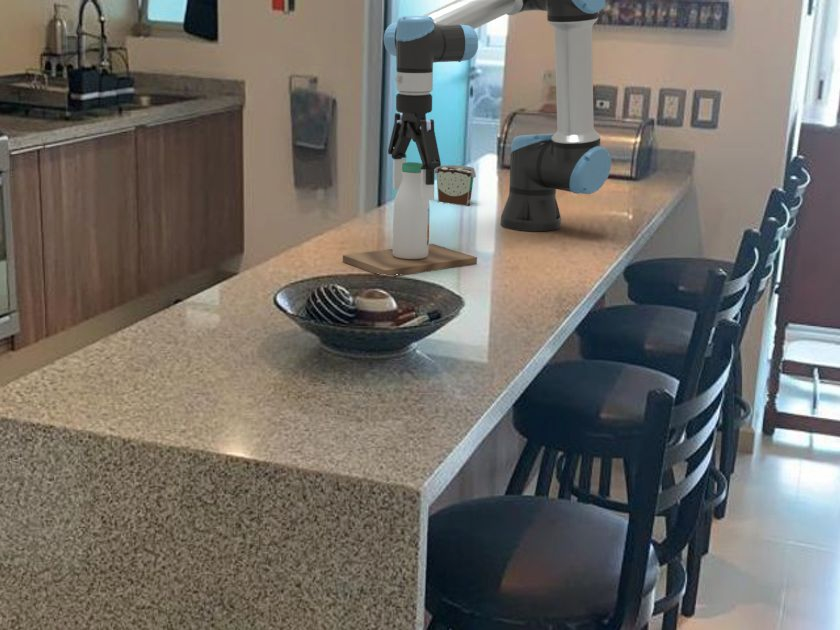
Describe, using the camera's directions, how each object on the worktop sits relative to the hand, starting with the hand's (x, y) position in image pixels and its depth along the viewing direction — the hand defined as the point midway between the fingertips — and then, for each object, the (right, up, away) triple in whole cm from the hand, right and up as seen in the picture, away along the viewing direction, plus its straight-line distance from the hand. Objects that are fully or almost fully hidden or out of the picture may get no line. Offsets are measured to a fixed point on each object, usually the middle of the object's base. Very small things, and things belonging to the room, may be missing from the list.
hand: (413, 194), depth 246 cm
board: (-1, -14, +4) cm, 15 cm away
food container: (+12, +5, +77) cm, 78 cm away
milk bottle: (-1, -13, +3) cm, 14 cm away
